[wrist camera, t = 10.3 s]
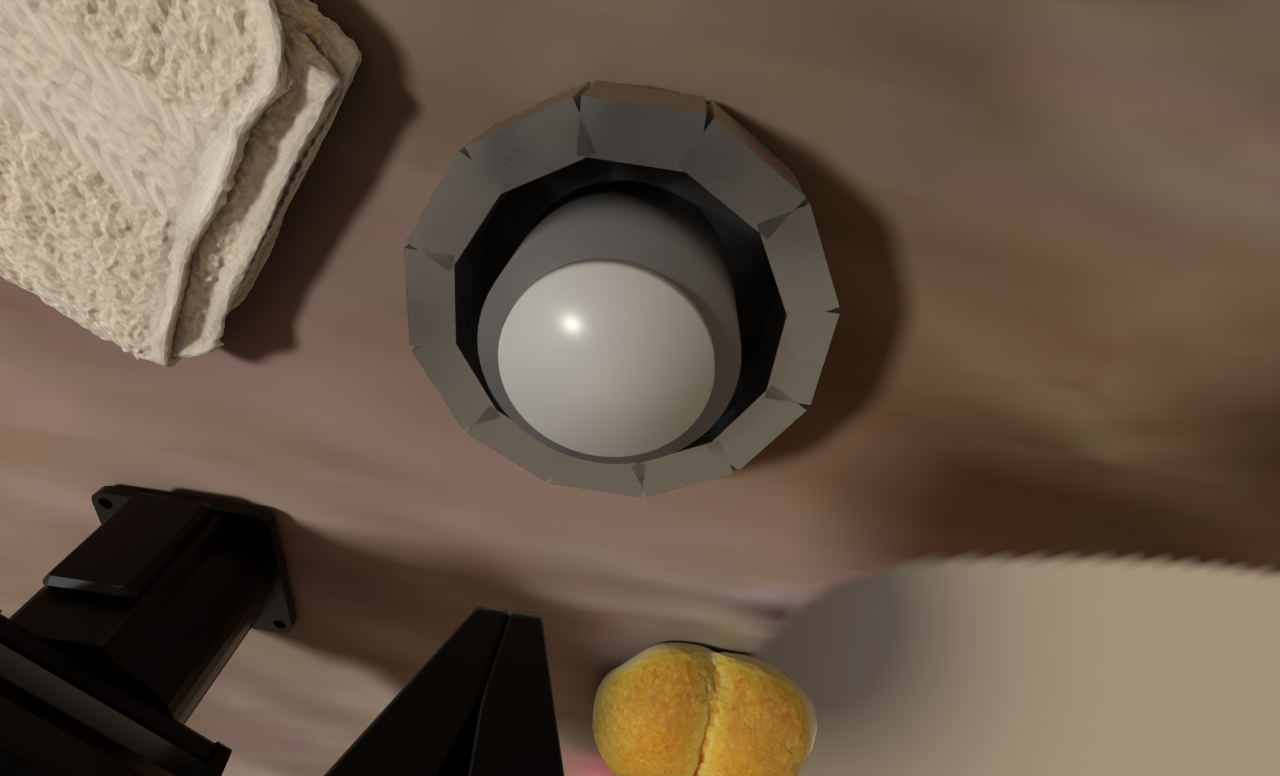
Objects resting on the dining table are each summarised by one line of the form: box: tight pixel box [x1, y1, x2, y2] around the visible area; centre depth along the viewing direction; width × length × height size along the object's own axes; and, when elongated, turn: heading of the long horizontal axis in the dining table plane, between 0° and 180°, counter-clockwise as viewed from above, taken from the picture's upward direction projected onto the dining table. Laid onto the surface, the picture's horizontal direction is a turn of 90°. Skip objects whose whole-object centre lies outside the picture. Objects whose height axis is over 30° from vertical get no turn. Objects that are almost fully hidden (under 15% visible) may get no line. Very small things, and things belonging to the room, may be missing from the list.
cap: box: [477, 180, 741, 464], centre depth 17 cm, size 6×6×4 cm
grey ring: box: [404, 80, 839, 497], centre depth 18 cm, size 10×10×3 cm
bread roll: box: [592, 642, 817, 776], centre depth 27 cm, size 8×9×4 cm
